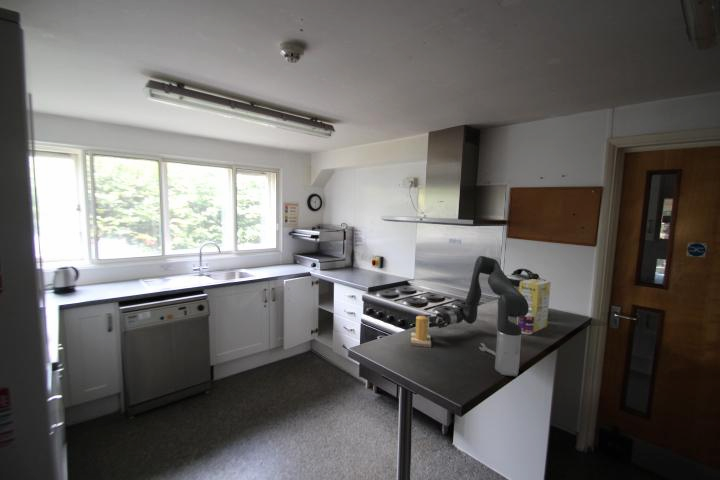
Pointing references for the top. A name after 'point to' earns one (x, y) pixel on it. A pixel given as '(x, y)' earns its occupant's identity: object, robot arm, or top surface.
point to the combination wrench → (487, 349)
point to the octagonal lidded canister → (421, 327)
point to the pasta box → (537, 300)
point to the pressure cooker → (522, 277)
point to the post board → (420, 341)
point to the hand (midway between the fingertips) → (423, 322)
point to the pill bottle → (527, 322)
